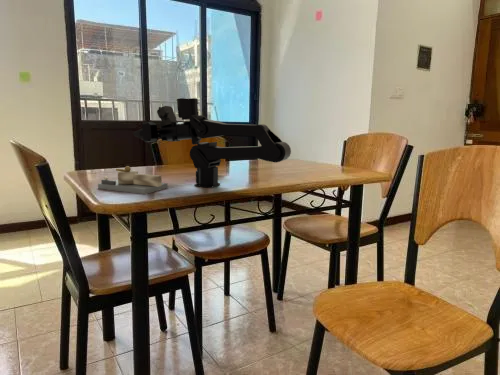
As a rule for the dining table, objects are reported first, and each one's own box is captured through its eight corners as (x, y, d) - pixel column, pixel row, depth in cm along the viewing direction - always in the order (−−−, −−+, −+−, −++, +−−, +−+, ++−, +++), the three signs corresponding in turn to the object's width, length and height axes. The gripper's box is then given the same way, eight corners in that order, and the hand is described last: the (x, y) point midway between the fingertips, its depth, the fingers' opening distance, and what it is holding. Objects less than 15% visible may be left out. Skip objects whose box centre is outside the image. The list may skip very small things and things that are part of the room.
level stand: (167, 187, 121) (167, 175, 120) (144, 194, 111) (144, 180, 110) (123, 183, 128) (122, 171, 127) (98, 188, 118) (97, 176, 117)
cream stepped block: (165, 184, 116) (165, 167, 115) (153, 187, 111) (152, 170, 110) (124, 180, 123) (123, 164, 122) (110, 183, 118) (109, 166, 117)
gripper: (193, 108, 134) (156, 111, 140) (162, 103, 116) (121, 108, 122) (196, 140, 135) (159, 142, 141) (165, 140, 118) (125, 143, 124)
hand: (142, 133), depth 132 cm, fingers open, 9 cm apart
